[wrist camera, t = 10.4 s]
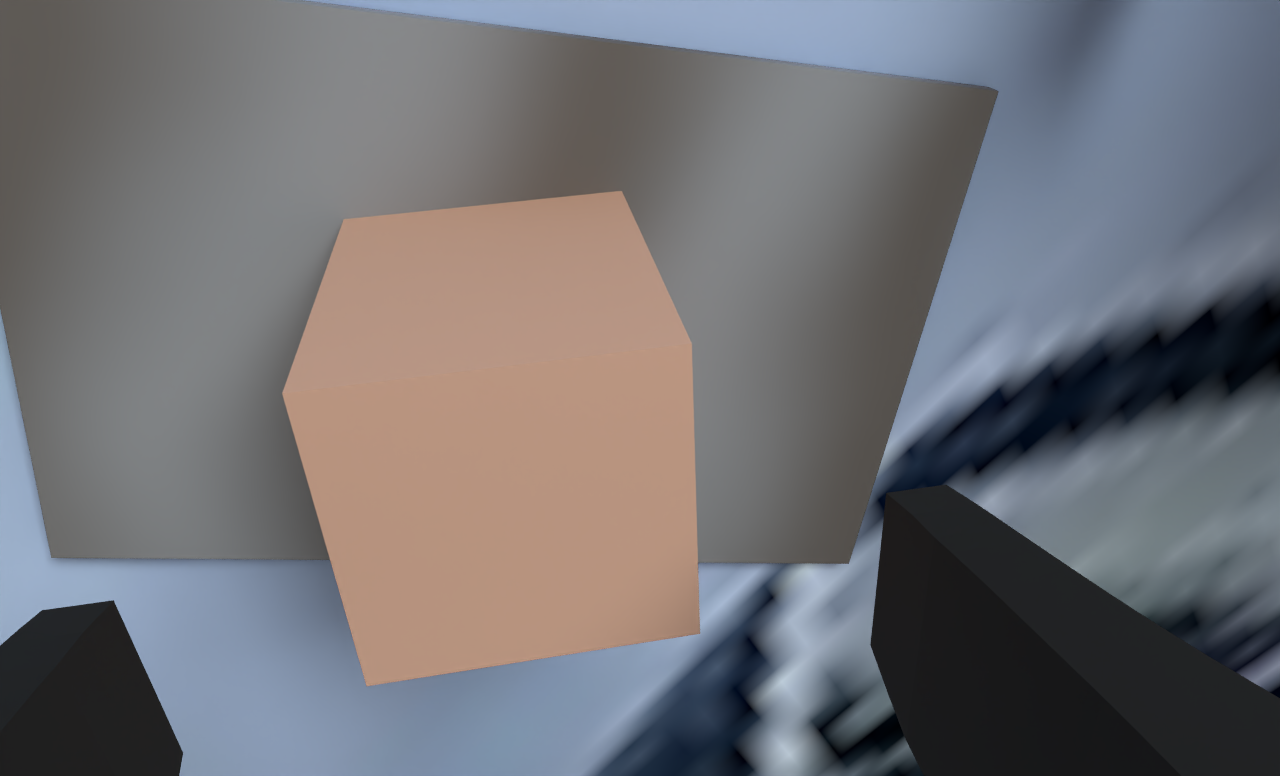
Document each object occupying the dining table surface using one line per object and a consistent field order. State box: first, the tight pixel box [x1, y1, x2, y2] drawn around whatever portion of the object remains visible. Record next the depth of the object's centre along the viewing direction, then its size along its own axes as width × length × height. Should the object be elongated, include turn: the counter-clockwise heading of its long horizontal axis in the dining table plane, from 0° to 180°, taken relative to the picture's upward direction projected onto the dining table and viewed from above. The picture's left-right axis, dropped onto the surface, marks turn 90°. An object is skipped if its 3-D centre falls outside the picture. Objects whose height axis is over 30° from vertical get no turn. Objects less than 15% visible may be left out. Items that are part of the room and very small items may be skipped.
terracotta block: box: [282, 191, 700, 686], centre depth 12 cm, size 4×4×5 cm
